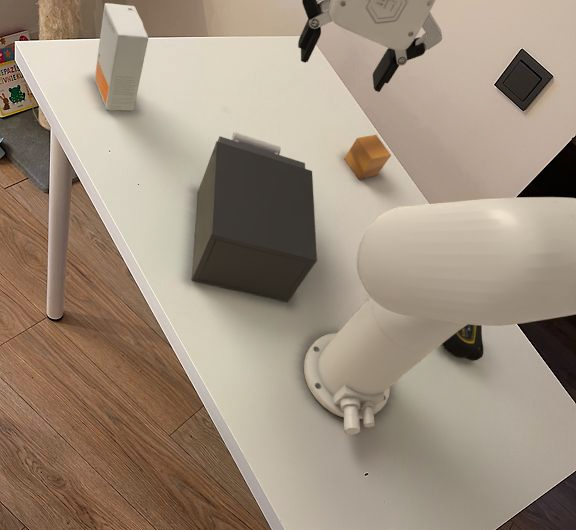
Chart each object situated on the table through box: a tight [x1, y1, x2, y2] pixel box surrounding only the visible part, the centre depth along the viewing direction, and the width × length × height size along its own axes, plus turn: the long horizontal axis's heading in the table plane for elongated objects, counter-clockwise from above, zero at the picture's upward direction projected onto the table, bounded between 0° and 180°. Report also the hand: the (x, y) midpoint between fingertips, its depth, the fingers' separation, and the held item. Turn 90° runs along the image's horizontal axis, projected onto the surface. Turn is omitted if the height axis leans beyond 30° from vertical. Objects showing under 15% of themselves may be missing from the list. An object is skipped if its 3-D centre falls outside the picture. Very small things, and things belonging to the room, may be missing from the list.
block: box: [344, 134, 392, 180], centre depth 100 cm, size 5×5×5 cm
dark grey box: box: [217, 131, 306, 169], centre depth 82 cm, size 19×12×8 cm, turn 1°
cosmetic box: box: [93, 2, 149, 111], centre depth 82 cm, size 6×4×12 cm
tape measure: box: [441, 324, 484, 362], centre depth 90 cm, size 7×7×4 cm
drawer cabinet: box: [191, 140, 318, 303], centre depth 80 cm, size 16×14×10 cm
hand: (340, 69), depth 71 cm, fingers open, 9 cm apart
